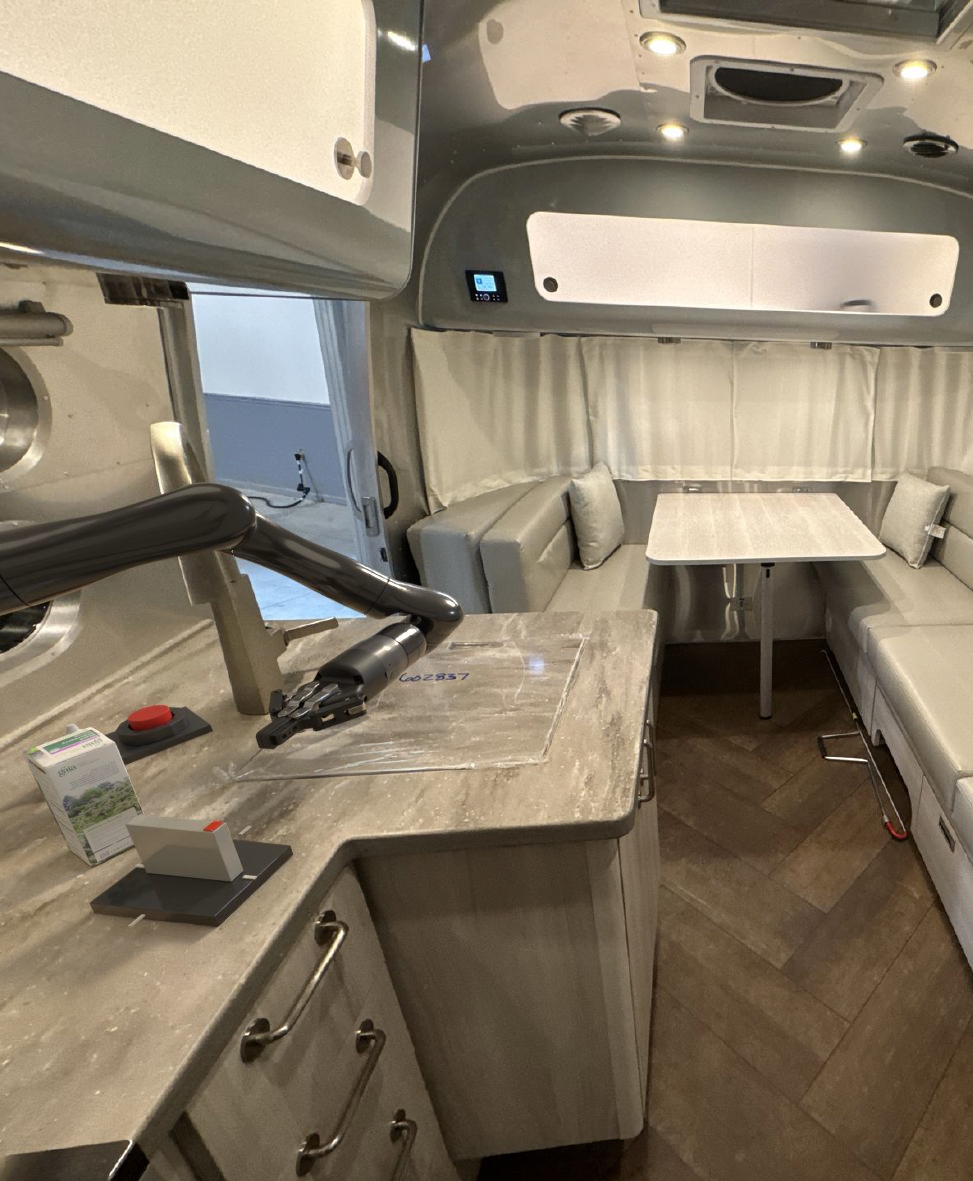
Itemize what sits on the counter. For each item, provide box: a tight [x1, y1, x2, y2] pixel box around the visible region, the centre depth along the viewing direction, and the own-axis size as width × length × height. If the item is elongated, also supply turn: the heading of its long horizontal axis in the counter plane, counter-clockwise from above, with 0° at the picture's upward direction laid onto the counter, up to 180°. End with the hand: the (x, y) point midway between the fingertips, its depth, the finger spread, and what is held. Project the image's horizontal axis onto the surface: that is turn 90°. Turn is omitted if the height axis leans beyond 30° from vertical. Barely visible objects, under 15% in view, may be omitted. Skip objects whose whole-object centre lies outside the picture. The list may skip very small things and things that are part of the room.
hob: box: [88, 825, 294, 928], centre depth 71 cm, size 14×14×2 cm
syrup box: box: [22, 726, 146, 868], centre depth 73 cm, size 6×6×14 cm
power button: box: [127, 704, 172, 731], centre depth 93 cm, size 4×4×2 cm
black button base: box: [104, 706, 214, 766], centre depth 94 cm, size 10×9×3 cm
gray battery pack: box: [125, 814, 243, 882], centre depth 69 cm, size 10×2×7 cm, turn 86°
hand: (263, 742), depth 75 cm, fingers closed
